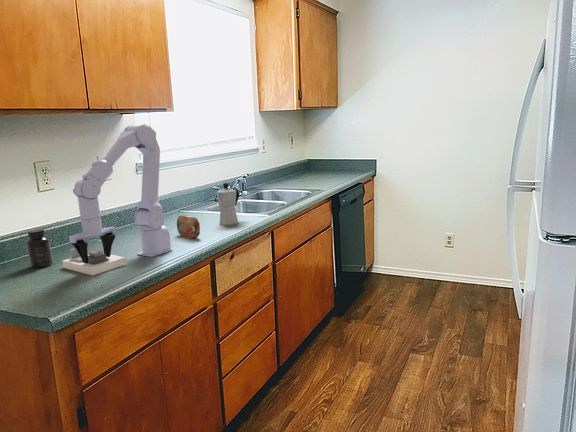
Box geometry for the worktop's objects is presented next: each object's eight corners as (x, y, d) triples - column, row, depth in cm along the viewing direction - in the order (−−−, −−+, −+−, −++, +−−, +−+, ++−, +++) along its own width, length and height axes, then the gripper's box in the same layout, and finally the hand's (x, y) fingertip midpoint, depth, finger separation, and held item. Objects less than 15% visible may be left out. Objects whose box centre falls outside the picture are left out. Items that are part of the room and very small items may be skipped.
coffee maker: (227, 227, 198) (224, 185, 194) (211, 225, 202) (208, 184, 199) (248, 220, 210) (245, 180, 206) (233, 218, 215) (229, 180, 211)
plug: (100, 266, 150) (98, 249, 149) (107, 267, 148) (105, 251, 147) (89, 269, 147) (86, 253, 146) (96, 271, 145) (93, 254, 144)
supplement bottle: (57, 261, 159) (51, 227, 156) (47, 267, 152) (41, 232, 150) (36, 263, 158) (30, 229, 156) (26, 269, 152) (20, 233, 149)
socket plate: (96, 258, 160) (95, 249, 160) (126, 264, 150) (125, 255, 150) (63, 267, 151) (61, 258, 150) (92, 275, 141) (91, 265, 140)
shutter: (88, 254, 156) (86, 244, 155) (99, 256, 152) (97, 246, 152) (69, 259, 151) (67, 249, 150) (80, 262, 147) (78, 251, 146)
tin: (177, 234, 189) (174, 214, 188) (184, 233, 191) (182, 213, 190) (195, 240, 178) (193, 218, 176) (202, 238, 180) (200, 217, 178)
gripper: (104, 212, 153) (109, 252, 155) (61, 221, 141) (68, 264, 144) (117, 214, 148) (122, 254, 151) (73, 223, 137) (80, 267, 140)
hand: (96, 259), depth 147 cm, fingers open, 7 cm apart
